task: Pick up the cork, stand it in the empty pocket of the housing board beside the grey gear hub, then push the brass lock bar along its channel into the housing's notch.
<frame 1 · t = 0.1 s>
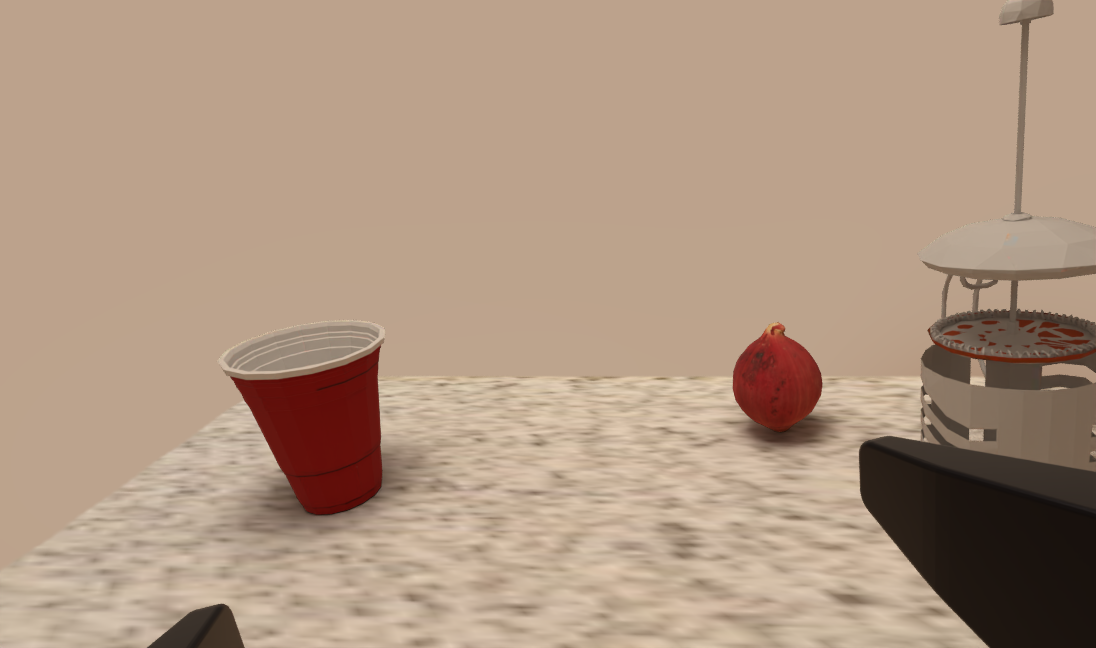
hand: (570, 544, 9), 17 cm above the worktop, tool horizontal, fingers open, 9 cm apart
onion: (779, 433, 45), on the worktop
plastic cup: (346, 495, 47), on the worktop
french press: (997, 497, 35), on the worktop
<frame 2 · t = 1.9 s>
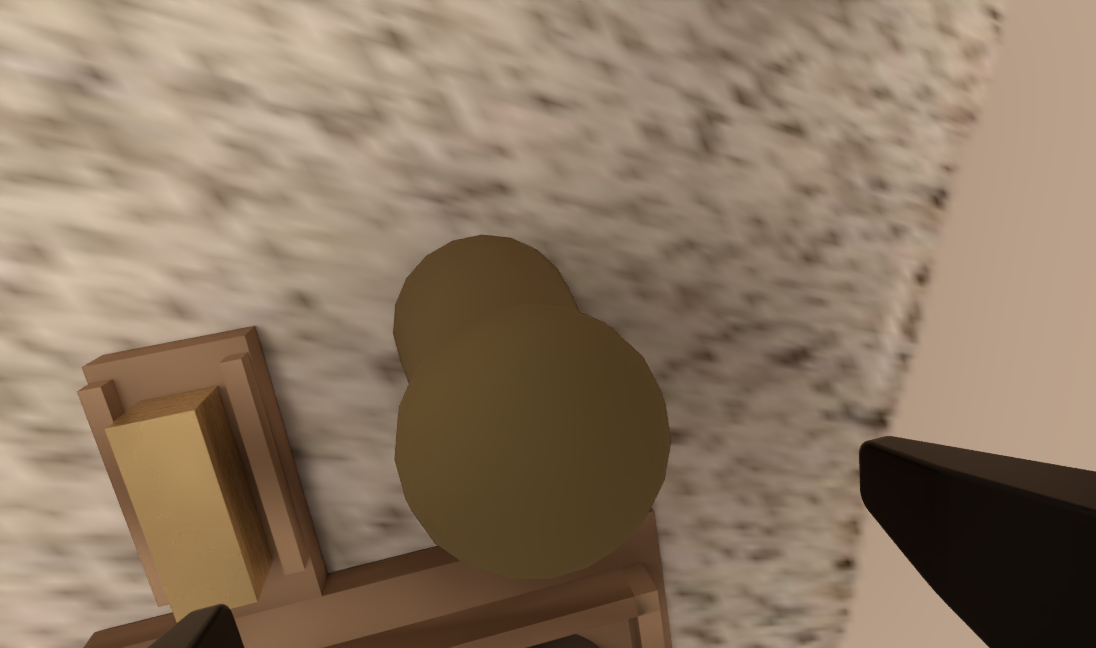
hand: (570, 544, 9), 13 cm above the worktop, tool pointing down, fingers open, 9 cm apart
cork: (486, 325, 21), on the worktop
lock bar: (197, 501, 18), point 2 cm above the worktop, slide at 0.0 cm
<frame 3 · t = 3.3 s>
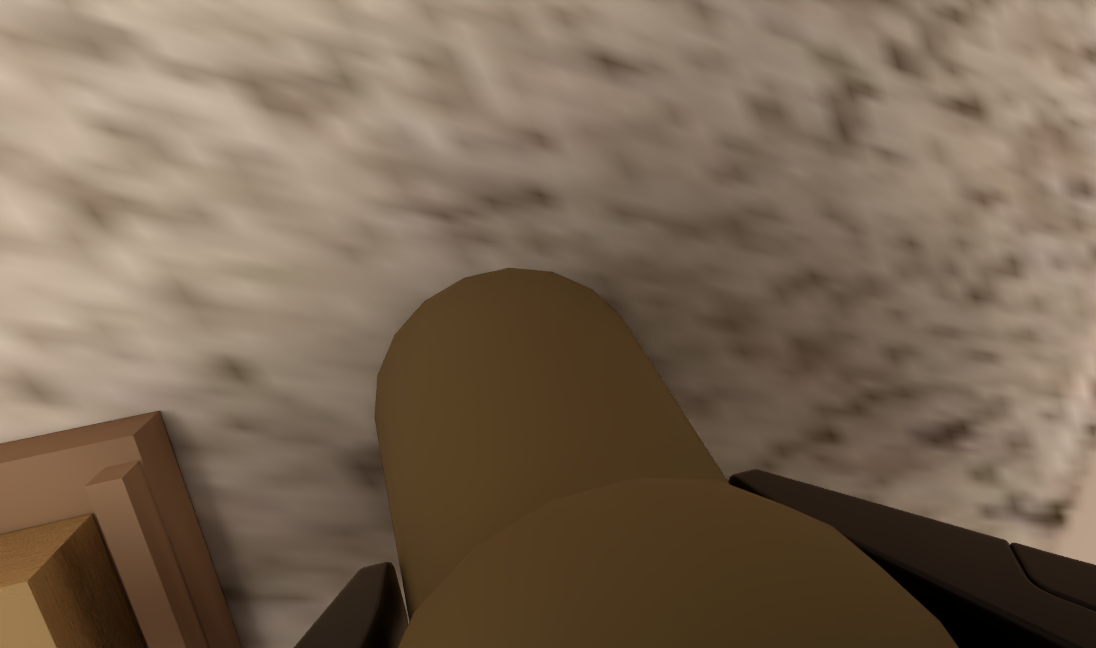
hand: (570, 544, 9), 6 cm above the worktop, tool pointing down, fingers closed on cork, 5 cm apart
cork: (514, 400, 14), on the worktop, touching gripper
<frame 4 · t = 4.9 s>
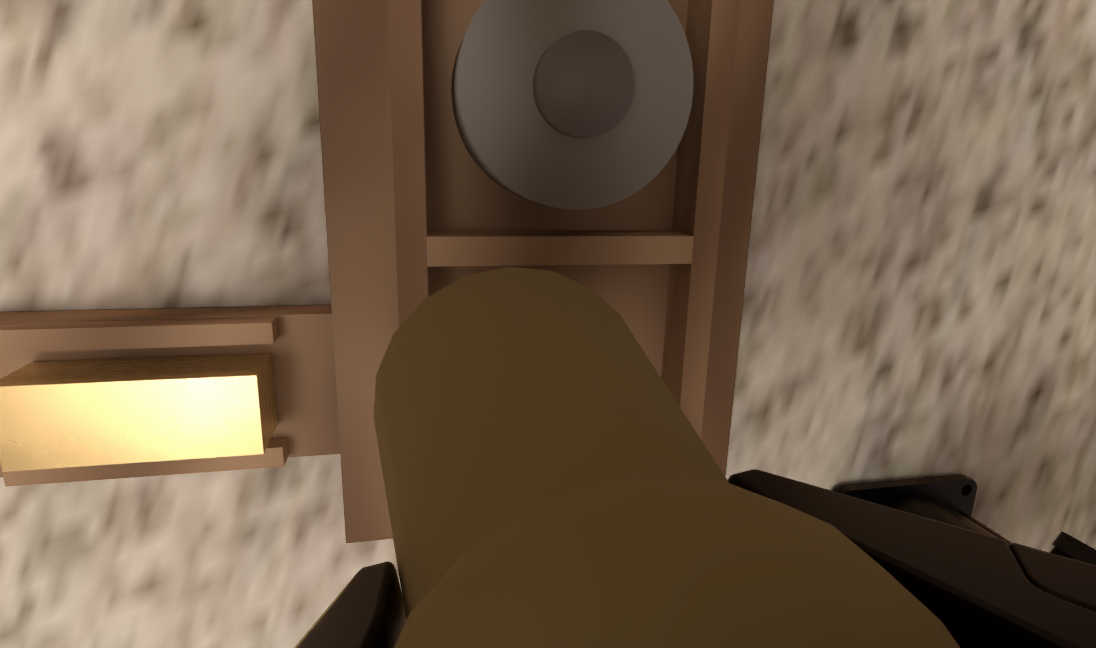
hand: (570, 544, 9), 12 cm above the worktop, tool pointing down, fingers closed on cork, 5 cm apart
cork: (513, 399, 14), point 7 cm above the worktop, touching gripper
lock bar: (147, 407, 17), point 2 cm above the worktop, slide at 0.0 cm
housing: (545, 238, 20), on the worktop
when the fingers open (8 cm above the worktop, at t = 6.5 s): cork stays where it is, resting on housing.
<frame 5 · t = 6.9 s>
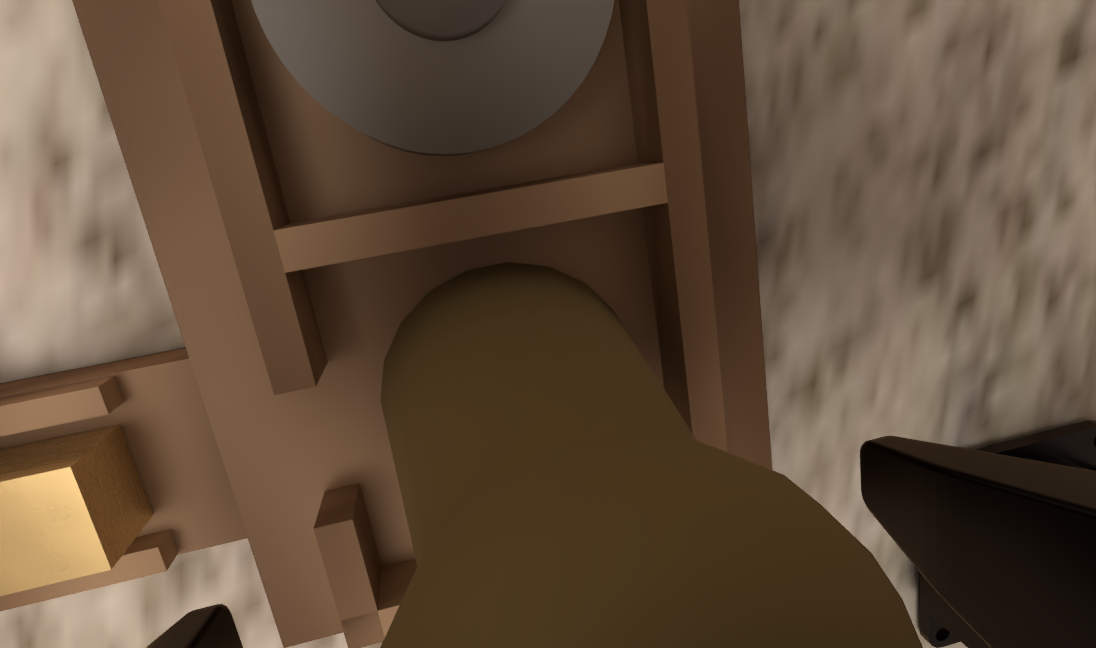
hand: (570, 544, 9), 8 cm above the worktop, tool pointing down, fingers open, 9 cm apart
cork: (511, 386, 15), point 1 cm above the worktop, touching housing
housing: (470, 207, 15), on the worktop
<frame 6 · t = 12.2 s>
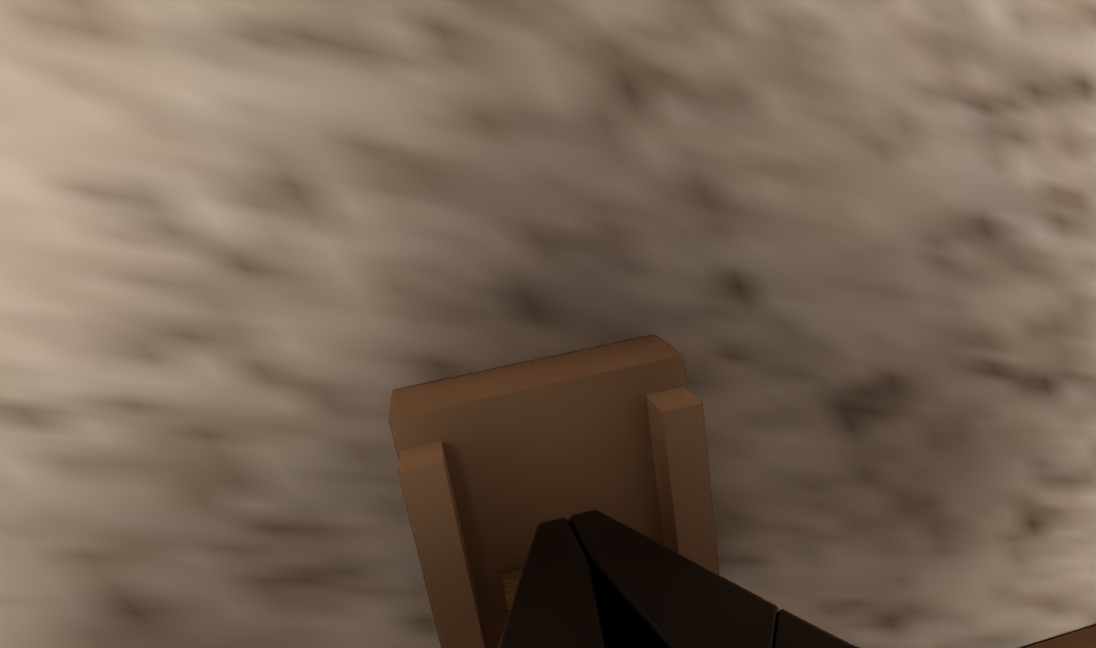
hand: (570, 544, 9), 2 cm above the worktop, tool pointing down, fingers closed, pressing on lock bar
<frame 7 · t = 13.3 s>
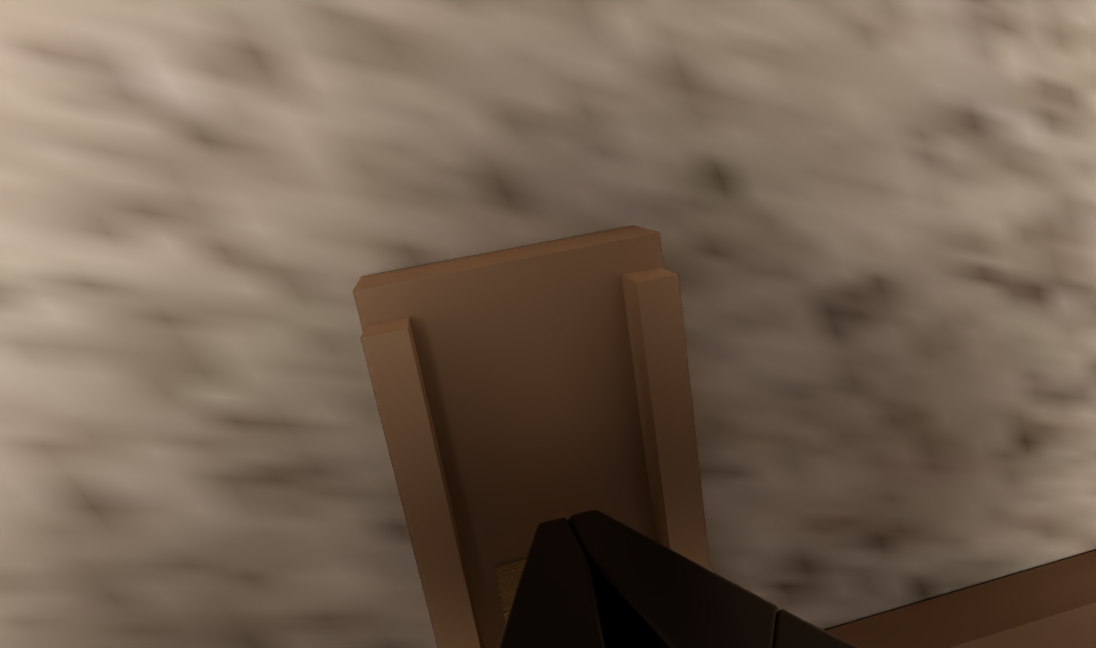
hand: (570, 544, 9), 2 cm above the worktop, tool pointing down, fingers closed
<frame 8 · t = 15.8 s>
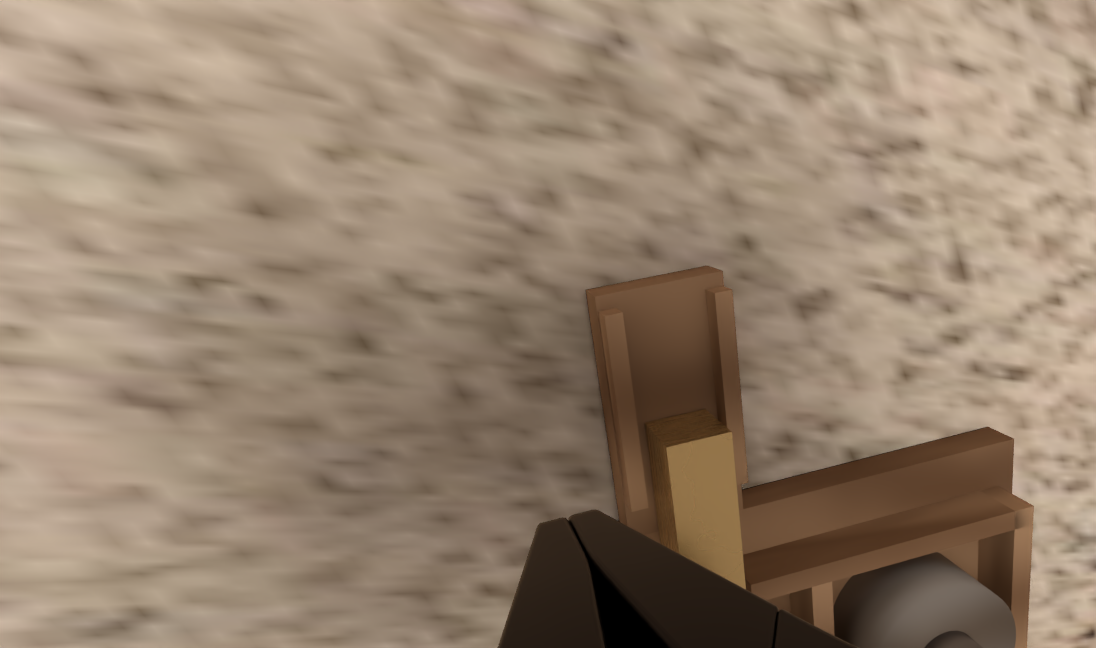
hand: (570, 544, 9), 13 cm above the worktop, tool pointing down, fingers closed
lock bar: (695, 507, 22), point 2 cm above the worktop, slide at 3.4 cm
housing: (785, 619, 27), on the worktop
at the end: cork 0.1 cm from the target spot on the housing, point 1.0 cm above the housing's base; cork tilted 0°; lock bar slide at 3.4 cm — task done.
